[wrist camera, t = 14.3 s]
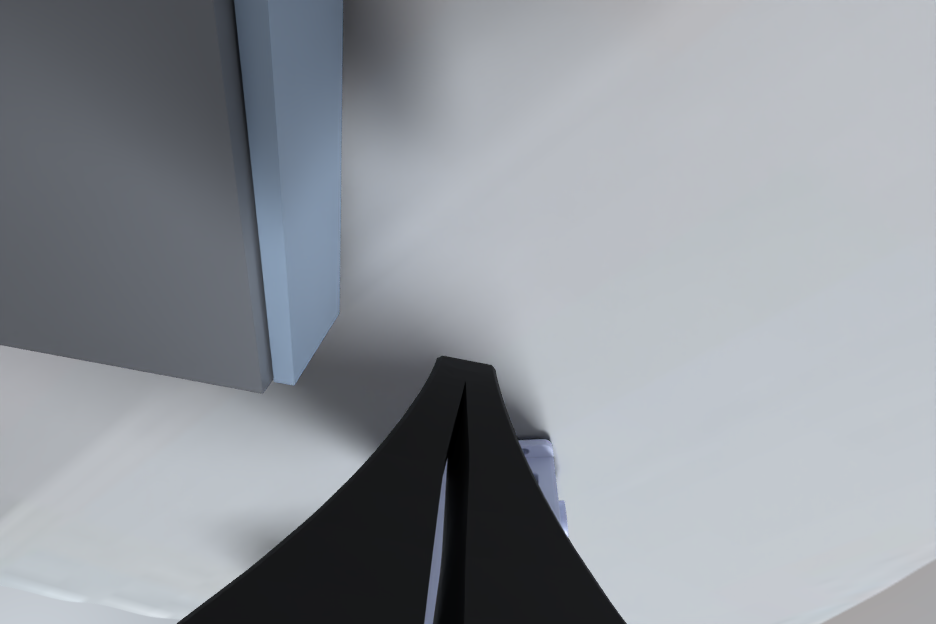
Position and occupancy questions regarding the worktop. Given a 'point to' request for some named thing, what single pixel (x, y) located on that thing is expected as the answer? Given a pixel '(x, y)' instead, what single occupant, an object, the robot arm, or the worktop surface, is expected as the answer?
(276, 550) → the robot arm
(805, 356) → the worktop surface
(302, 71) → the tray
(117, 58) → the box
